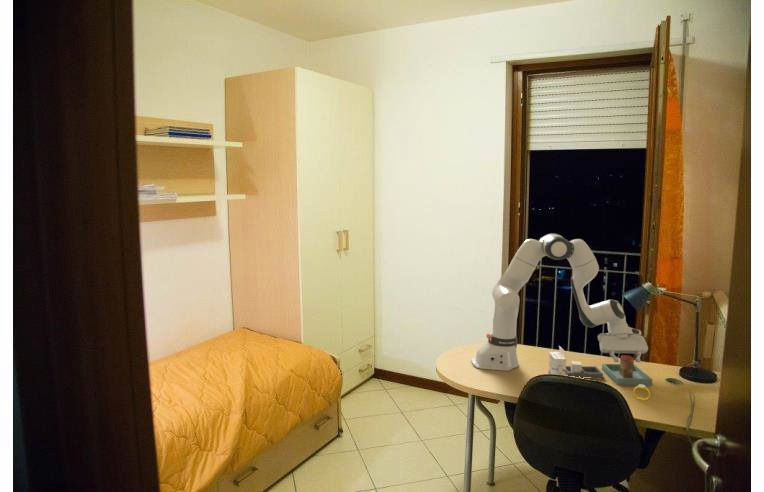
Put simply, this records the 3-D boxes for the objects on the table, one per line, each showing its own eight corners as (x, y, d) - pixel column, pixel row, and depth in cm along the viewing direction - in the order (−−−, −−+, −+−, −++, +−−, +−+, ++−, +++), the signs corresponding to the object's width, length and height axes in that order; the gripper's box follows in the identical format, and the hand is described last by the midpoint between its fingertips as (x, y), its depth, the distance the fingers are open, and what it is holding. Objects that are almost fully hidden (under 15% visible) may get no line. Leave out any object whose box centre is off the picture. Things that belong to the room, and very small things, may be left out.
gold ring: (632, 399, 193) (632, 385, 193) (633, 396, 196) (633, 383, 195) (649, 402, 190) (649, 388, 190) (650, 399, 192) (650, 385, 192)
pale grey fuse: (571, 376, 215) (572, 364, 214) (570, 373, 219) (571, 360, 218) (581, 377, 214) (581, 364, 213) (579, 373, 218) (580, 361, 217)
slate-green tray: (617, 385, 206) (617, 378, 205) (602, 369, 222) (602, 363, 222) (651, 385, 205) (652, 379, 204) (634, 370, 221) (634, 364, 221)
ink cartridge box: (547, 375, 216) (548, 345, 214) (558, 375, 216) (559, 345, 214) (553, 384, 208) (555, 352, 205) (565, 384, 207) (566, 352, 205)
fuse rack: (568, 378, 213) (568, 373, 213) (562, 370, 221) (562, 365, 221) (602, 378, 212) (602, 373, 212) (595, 371, 220) (596, 366, 220)
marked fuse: (623, 377, 212) (624, 358, 210) (619, 373, 215) (620, 355, 214) (632, 377, 211) (633, 358, 210) (628, 374, 215) (629, 355, 214)
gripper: (598, 330, 218) (605, 358, 210) (644, 330, 217) (653, 359, 209) (594, 336, 223) (601, 364, 215) (639, 336, 222) (647, 364, 214)
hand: (627, 361), depth 212 cm, fingers open, 8 cm apart
